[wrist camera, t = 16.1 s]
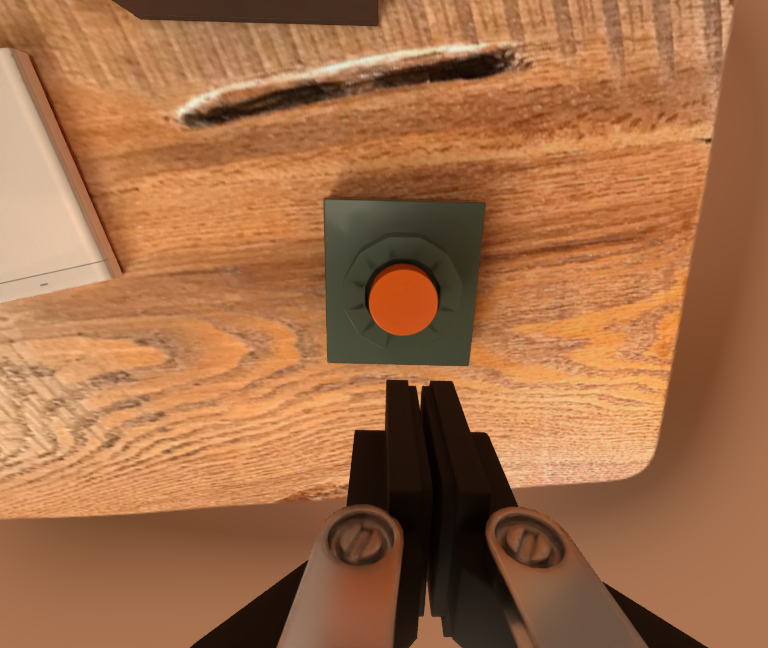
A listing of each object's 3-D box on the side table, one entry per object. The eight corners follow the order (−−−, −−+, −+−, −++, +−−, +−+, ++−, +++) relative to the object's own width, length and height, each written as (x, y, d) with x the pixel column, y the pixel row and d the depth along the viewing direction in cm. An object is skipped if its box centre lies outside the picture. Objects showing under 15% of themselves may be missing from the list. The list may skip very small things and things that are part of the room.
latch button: (370, 261, 22) (369, 268, 20) (436, 263, 22) (440, 270, 20) (369, 324, 23) (368, 335, 22) (432, 325, 23) (435, 336, 22)
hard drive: (-139, 82, 21) (-15, 307, 25) (5, 44, 20) (109, 280, 24) (-103, 89, 23) (9, 299, 27) (32, 54, 22) (126, 274, 26)
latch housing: (328, 196, 24) (318, 199, 21) (477, 200, 24) (494, 204, 21) (331, 349, 28) (323, 376, 24) (462, 353, 28) (475, 380, 24)
